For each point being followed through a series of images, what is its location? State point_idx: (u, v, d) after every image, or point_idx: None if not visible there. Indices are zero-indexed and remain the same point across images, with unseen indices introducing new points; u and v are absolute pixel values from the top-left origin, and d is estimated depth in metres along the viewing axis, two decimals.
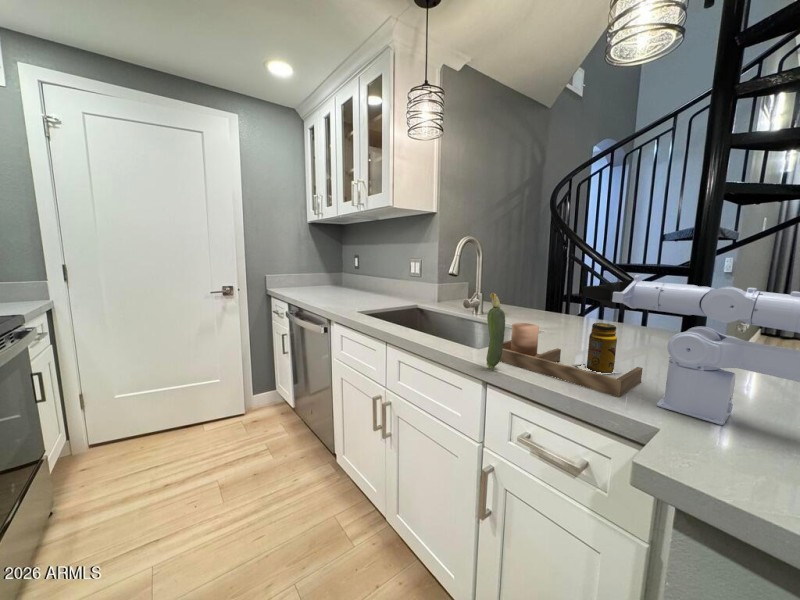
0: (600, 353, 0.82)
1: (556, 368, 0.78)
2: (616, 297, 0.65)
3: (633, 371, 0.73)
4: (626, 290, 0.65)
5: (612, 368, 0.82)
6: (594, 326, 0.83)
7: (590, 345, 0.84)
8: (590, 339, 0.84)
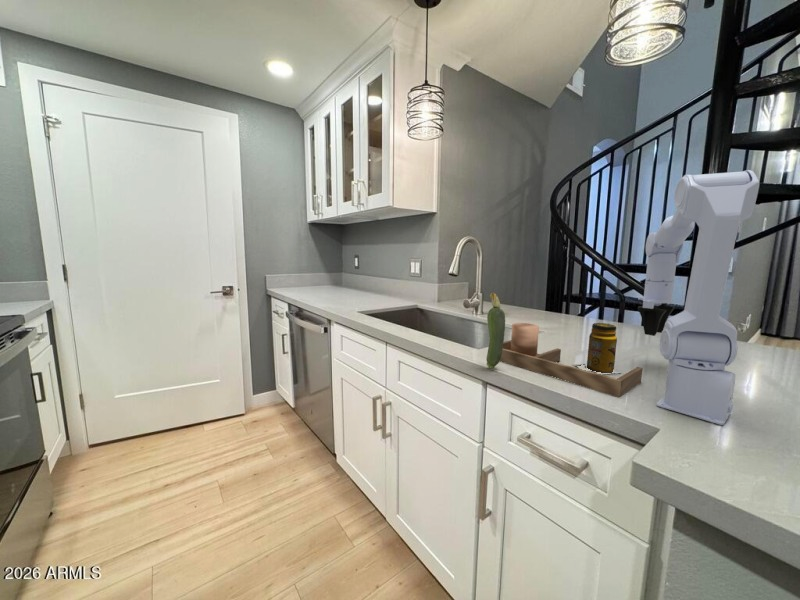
0: (600, 353, 0.82)
1: (556, 368, 0.78)
2: (647, 305, 0.79)
3: (633, 371, 0.73)
4: (644, 300, 0.81)
5: (612, 368, 0.82)
6: (594, 326, 0.83)
7: (590, 345, 0.84)
8: (590, 339, 0.84)
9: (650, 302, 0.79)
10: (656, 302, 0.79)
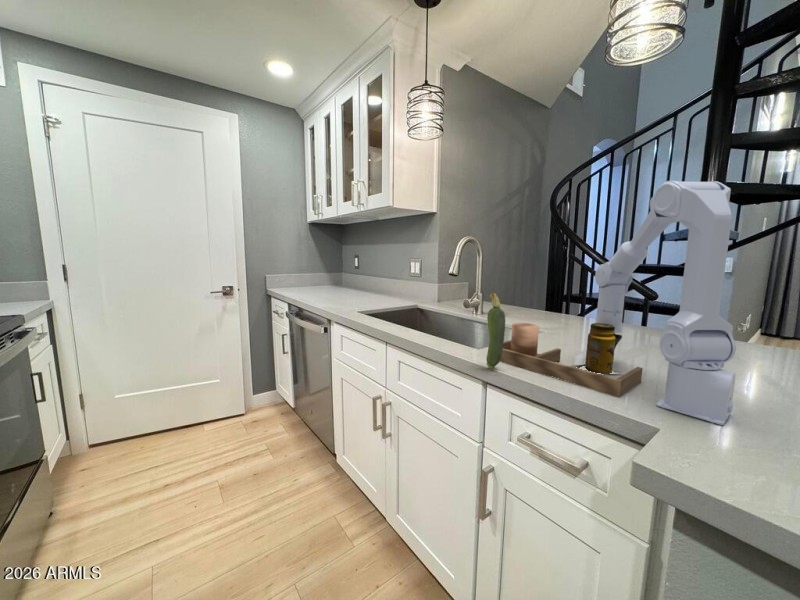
0: (598, 353, 0.81)
1: (556, 368, 0.78)
2: None
3: (633, 371, 0.73)
4: None
5: (610, 368, 0.81)
6: (592, 326, 0.82)
7: (588, 345, 0.83)
8: (588, 339, 0.83)
9: None
10: None
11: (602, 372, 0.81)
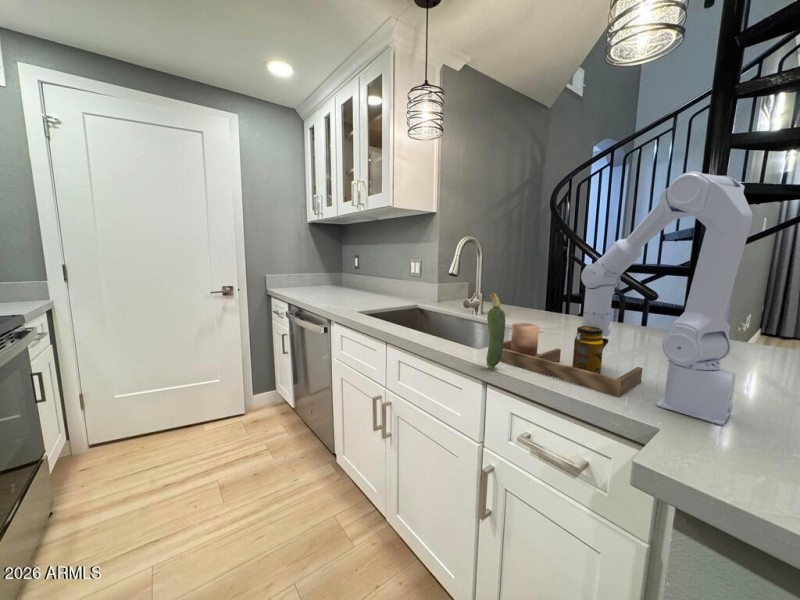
0: (586, 359, 0.76)
1: (556, 368, 0.78)
2: None
3: (633, 371, 0.73)
4: None
5: None
6: (580, 330, 0.78)
7: (576, 350, 0.79)
8: (575, 344, 0.79)
9: None
10: None
11: None
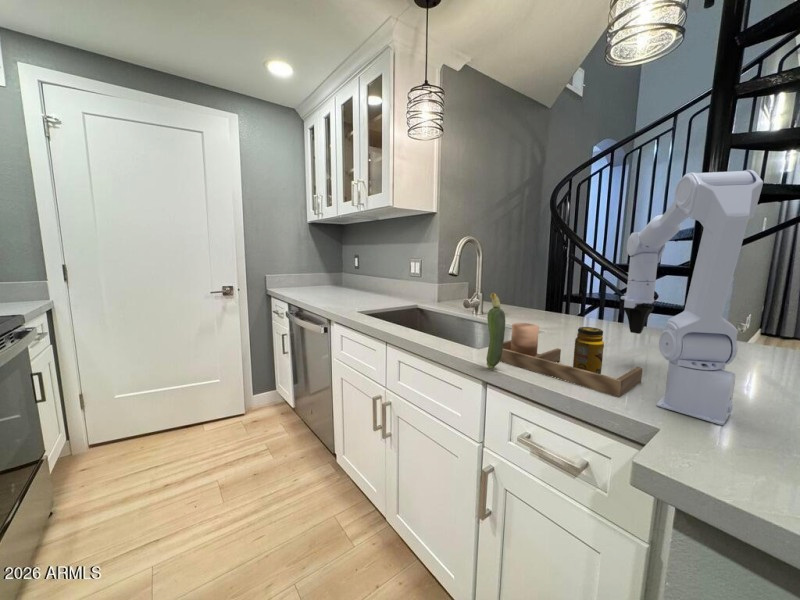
0: (587, 359, 0.77)
1: (556, 368, 0.78)
2: (628, 304, 0.80)
3: (633, 371, 0.73)
4: (625, 299, 0.82)
5: None
6: (580, 330, 0.78)
7: (576, 351, 0.79)
8: (576, 344, 0.79)
9: (631, 302, 0.79)
10: (637, 302, 0.80)
11: None
